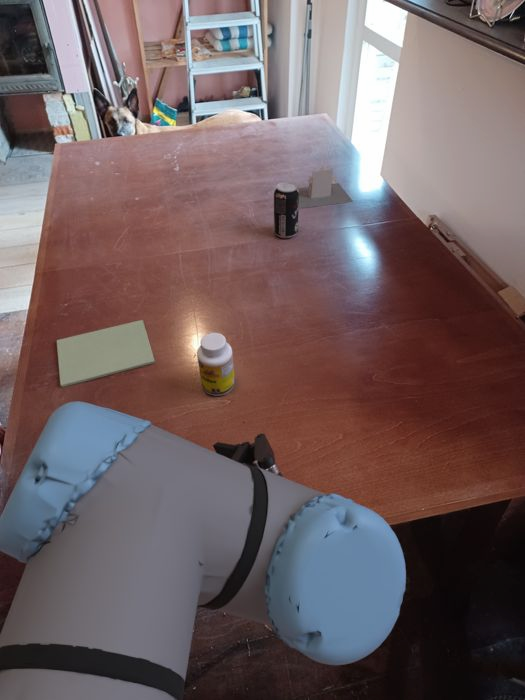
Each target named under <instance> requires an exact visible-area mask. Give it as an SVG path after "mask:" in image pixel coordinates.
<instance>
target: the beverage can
mask: <svg viewBox="0 0 525 700" xmlns="http://www.w3.org/2000/svg"><path fill="white" fill-rule="evenodd" d="M297 188H298V186H297V184H295V183H294V182H290V181H284V182H280V183H278V184H277V185H276V189H275V190H274V192H273V233H274V234H275V235H276V236H277V237H279V238H281V239H290V238H292V237H295V236H296V235H297V234H298V231H299V211H300V209H299V191H298V190H297Z"/></svg>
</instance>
